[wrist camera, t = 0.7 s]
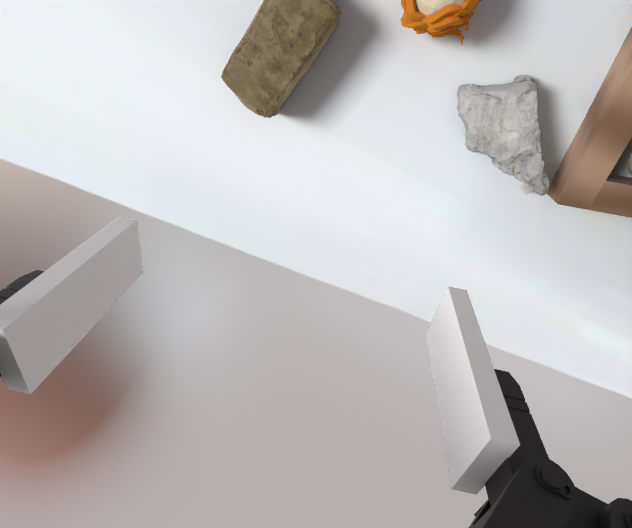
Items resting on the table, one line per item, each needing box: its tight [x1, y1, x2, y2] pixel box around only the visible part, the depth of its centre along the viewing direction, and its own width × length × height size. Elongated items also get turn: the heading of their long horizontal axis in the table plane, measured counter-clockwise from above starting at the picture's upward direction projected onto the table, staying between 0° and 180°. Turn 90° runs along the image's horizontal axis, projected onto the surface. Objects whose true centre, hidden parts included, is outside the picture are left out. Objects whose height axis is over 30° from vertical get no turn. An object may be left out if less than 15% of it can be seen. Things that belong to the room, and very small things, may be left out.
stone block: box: [221, 0, 341, 117], centre depth 33 cm, size 6×12×5 cm, turn 142°
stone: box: [457, 75, 550, 196], centre depth 35 cm, size 6×12×4 cm, turn 24°
